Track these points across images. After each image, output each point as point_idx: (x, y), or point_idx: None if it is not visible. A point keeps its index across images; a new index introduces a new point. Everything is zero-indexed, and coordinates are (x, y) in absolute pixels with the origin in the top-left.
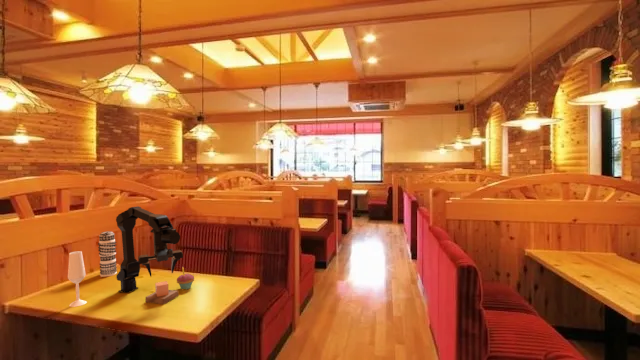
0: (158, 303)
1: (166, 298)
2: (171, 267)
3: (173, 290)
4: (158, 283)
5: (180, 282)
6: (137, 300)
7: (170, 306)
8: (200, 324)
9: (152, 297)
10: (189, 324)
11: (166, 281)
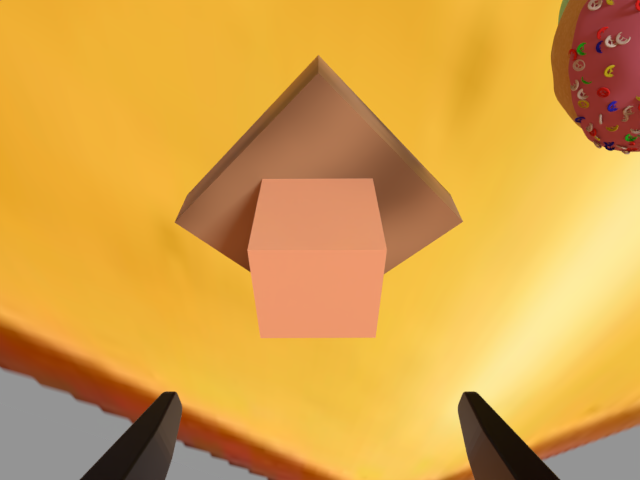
0: None
1: None
2: (498, 461)
3: (430, 192)
4: (282, 281)
5: (570, 117)
6: (99, 109)
7: None
8: (409, 476)
9: (235, 258)
10: (377, 467)
11: (379, 261)
